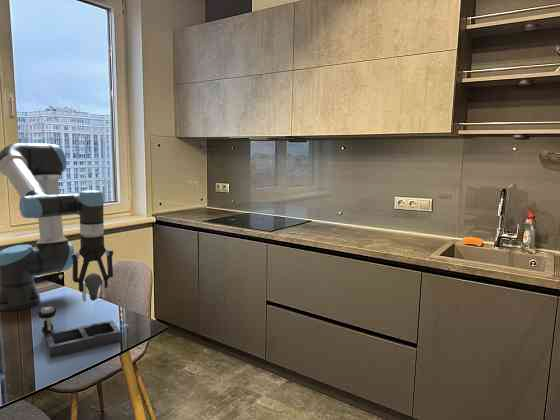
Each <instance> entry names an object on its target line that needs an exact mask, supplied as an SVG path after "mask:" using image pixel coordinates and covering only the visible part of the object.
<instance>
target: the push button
mask: <svg viewBox="0 0 560 420" xmlns="http://www.w3.org/2000/svg"><path fill="white" fill-rule="evenodd" d="M56 312H57V309H56V308H54V306H43V307H41V309H40V310H39V311H37V315H38V317H39V318H40V319H42V320H44V321H43V322H44V323H43V326H42V328H41V333H42V338H43V339H44V338H45V334H47V333H52V332H55V331H54V325H53V324H52V318H53V317H55V316H56V314H57V313H56Z"/></svg>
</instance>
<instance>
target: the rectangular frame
mask: <svg viewBox="0 0 560 420" xmlns="http://www.w3.org/2000/svg"><path fill="white" fill-rule="evenodd" d="M44 338H45V346H46V349H47V352H48V356H49V359H54V358H59V357H62V356H67V355H72V354H74V353H80V352H83V351H88V350H92V349H96V348H101V347H104V346H108V345H113V344H118V343H121V342H122V331H121V330H120V329H119V327H118V325H117V324H116V323H115V322H114V320H111V319H110V320H106V321H101V322H97V323H91V324H87V325H83V326H77V327H72V328H68V329H67V328H66V329H63V330H58V331H57V330H56V331H54V332H52V333H47V334H45V336H44Z"/></svg>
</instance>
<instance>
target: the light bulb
mask: <svg viewBox="0 0 560 420" xmlns="http://www.w3.org/2000/svg"><path fill="white" fill-rule="evenodd" d="M101 278H102V276H100V274H98V273H96V272H95V273H94V272H93V273H90V274H87V276H86V277H85V278H84V282H85V283H86V289H87V290H88V295H89V299H90V301H93V302H94V301H96V300H97V299H98V293H99V288H101V282H102V279H101Z"/></svg>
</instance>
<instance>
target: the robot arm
mask: <svg viewBox="0 0 560 420" xmlns="http://www.w3.org/2000/svg"><path fill="white" fill-rule="evenodd" d="M66 170H67V159H66V154H65V152H64V150H63V149H62V147H60V146H59V145H57V144H52V143H32V142H31V143H27V142H16V143H15V142H14V143H12V144H8V145H7V146H5V147H4V148H2V149H1V150H0V173H1V174H2V175H4V176H5V177H7V178H8V180H9V182H10V183H11V184H12V186H13V188H14V189H15V191H16V193H17V195H18V196H19V197H20V198H19V202H18V205H19V206H18V208H19V211H20V215H21V216H22V217H23V218H24V219H38V220H37V221H38V228H39V229H38V230H39V239H38V240H37V241H36V244H35V245H36V247H33V245H31V244H18V245H13V246H9V247H7V248H4V249H2V250H0V311H3V312H13V311H21V310H22V311H23V310H26V309H29V308H32V307H35V306H37V305H38V304H39V303H40V302H41V295H40V293H39V290H38V288H37V287H36V284H35V277H37V276H44V275H49V274H54V273H61V272H65V271H69V270H70V269H71V268H72V281H73V282H74V283H78V291H79V292H80V293H81V294H82V295H81V299H82V300H83V302H87V287H86V283H85V282H84V281H85V278H86V277H85V276H86V274H87V271H88V266H89V265H90V262H91V263H92V262H96V263H97V265H98V267H99V271H100V273H101V279H102V282H101V285H100V297H101V298H102V299H106V293H105V292H106V291H105V289H108V287H109V286H108V283H109V282H108V280H109V279H110V278H113V277H114V271H113V270H114V269H113V256H114V251H113V250H112V249H111V248H110V249H107V248H106V247H105V234H104V233H105V229H104V228H105V227H104V225H105V224H104V200H105V199H104V193H103V192H102V191H101V190H95V189H93V190H92V189H89V190H82V191H80V192H70V193H65V194H64V193H63V194H61V193H60V185H59V179H60V178H61V177H62V176H63V172H66ZM73 215H74V216H75V215H79V234H80V238H79V239H80V245H79V246H80V249H79V250H78V252H75V249H74V246H73V244H72V243H71V242H69V240H68V238H67V237H66V236H64V228H63V217H62V216H73ZM104 254H105V256H106V263H107V264H106V265H107V268H105V266H104V263H103V259H102V257H103V256H104ZM80 256H81V257H82V258H83V260H82V266H81V269H80V272H79V269H78V268H79V261H78V260H79V259H80ZM106 269H107V270H106ZM106 271H107V272H106Z"/></svg>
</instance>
